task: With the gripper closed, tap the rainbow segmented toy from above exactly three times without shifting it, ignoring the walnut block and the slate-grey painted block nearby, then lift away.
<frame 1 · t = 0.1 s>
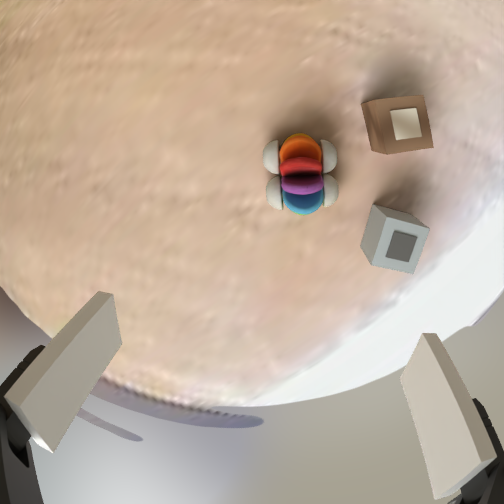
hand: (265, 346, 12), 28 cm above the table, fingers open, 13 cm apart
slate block: (386, 230, 37), on the table
walnut block: (388, 124, 32), on the table
rainbow segmented toy: (300, 171, 36), on the table
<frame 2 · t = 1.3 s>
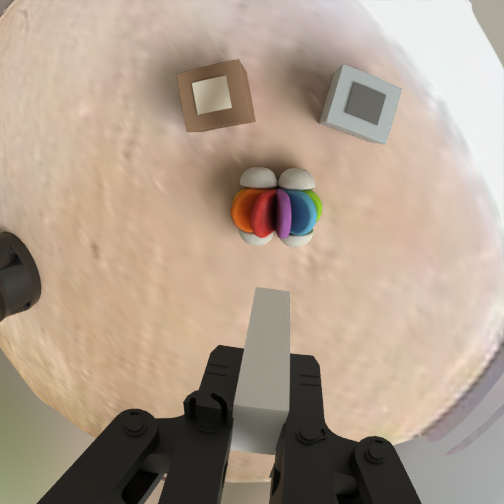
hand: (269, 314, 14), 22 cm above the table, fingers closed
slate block: (351, 108, 29), on the table
walnut block: (224, 101, 30), on the table
rainbow segmented toy: (277, 202, 34), on the table
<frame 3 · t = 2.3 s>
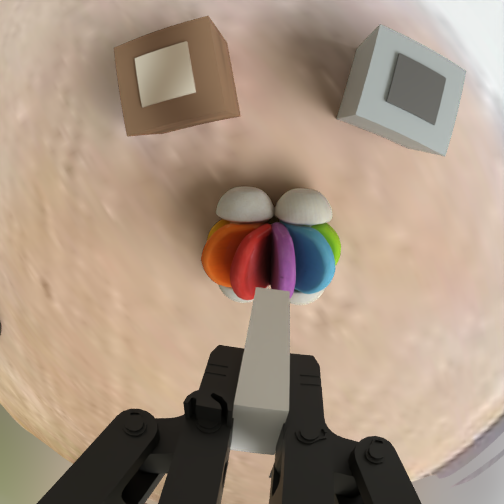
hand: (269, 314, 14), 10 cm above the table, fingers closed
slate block: (384, 97, 18), on the table
walnut block: (194, 87, 19), on the table
rainbow segmented toy: (274, 236, 24), on the table
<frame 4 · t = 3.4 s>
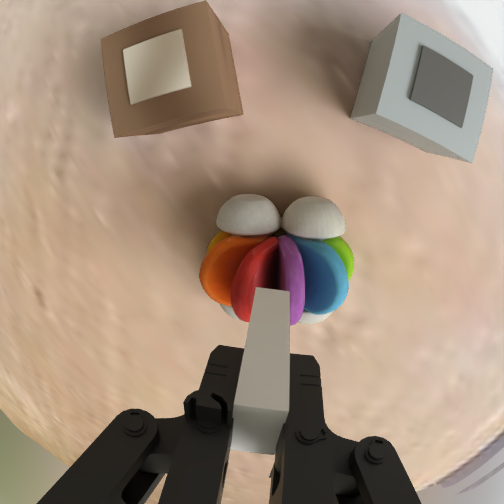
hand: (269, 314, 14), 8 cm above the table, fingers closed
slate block: (401, 96, 16), on the table
walnut block: (192, 82, 17), on the table
rainbow segmented toy: (280, 248, 22), on the table
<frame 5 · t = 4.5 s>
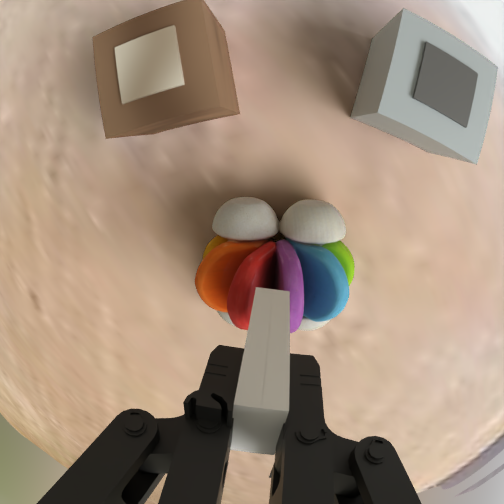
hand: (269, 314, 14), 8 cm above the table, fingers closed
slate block: (403, 94, 16), on the table
walnut block: (187, 81, 17), on the table
rainbow segmented toy: (278, 253, 21), on the table
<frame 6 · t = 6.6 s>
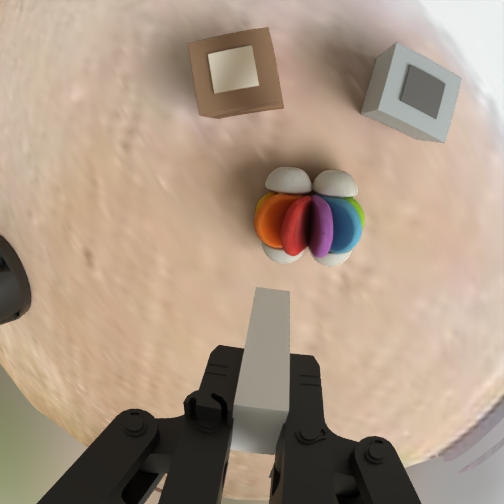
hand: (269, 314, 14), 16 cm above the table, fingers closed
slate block: (397, 98, 22), on the table
walnut block: (245, 82, 24), on the table
rainbow segmented toy: (308, 210, 28), on the table
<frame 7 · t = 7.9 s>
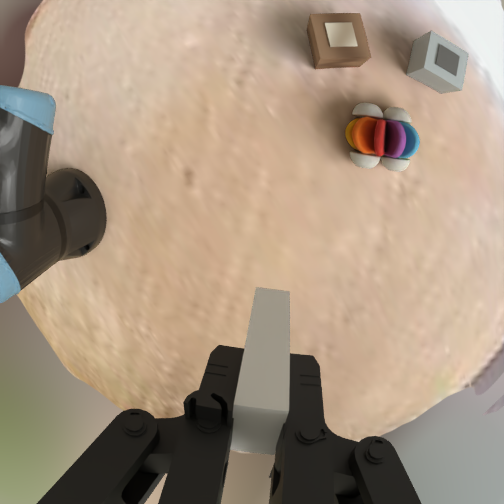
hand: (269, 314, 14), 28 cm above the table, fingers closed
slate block: (427, 67, 30), on the table
walnut block: (333, 47, 31), on the table
rainbow segmented toy: (376, 136, 36), on the table
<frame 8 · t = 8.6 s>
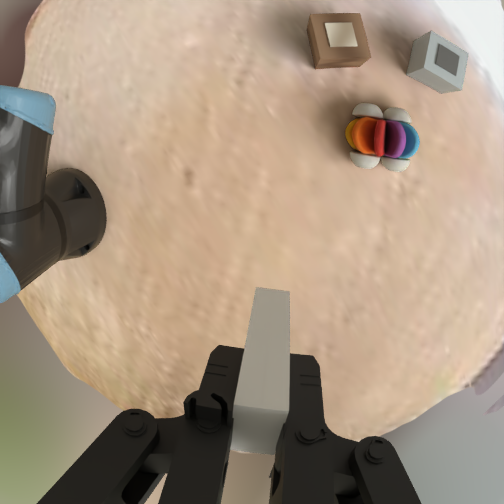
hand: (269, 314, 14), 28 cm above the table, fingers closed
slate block: (427, 67, 30), on the table
walnut block: (333, 47, 31), on the table
rainbow segmented toy: (376, 136, 36), on the table
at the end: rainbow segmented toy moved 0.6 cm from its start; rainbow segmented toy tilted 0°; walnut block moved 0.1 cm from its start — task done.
